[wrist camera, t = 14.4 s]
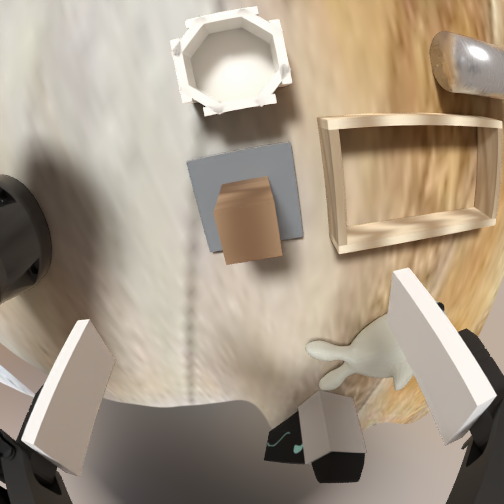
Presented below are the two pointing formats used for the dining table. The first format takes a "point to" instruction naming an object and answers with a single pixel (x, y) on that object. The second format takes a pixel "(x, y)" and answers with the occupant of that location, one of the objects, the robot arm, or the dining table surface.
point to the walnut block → (247, 221)
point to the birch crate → (416, 225)
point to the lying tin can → (468, 65)
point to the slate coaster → (242, 168)
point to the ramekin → (231, 61)
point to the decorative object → (321, 438)
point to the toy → (365, 356)
